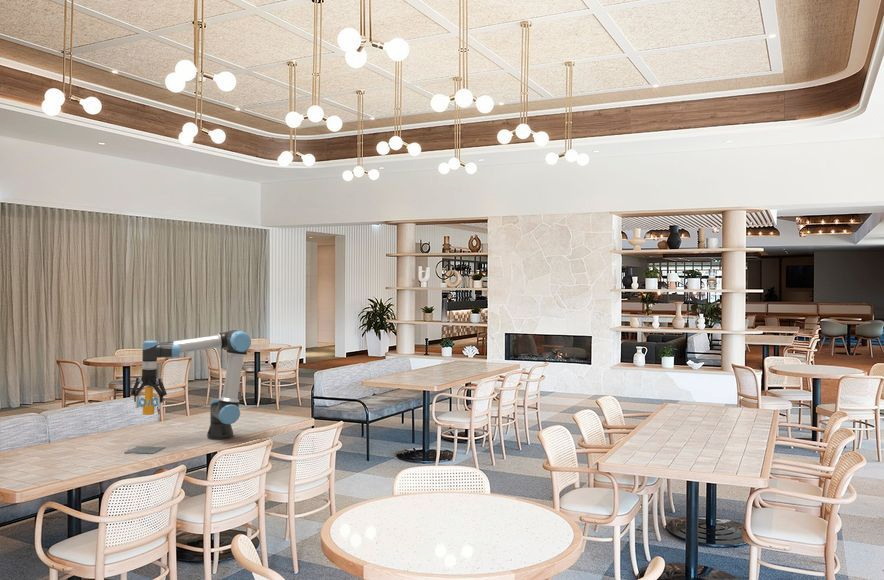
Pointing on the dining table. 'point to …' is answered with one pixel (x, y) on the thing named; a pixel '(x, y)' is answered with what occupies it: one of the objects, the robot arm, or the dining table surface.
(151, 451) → the card
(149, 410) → the orange hollow ringed part
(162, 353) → the robot arm
